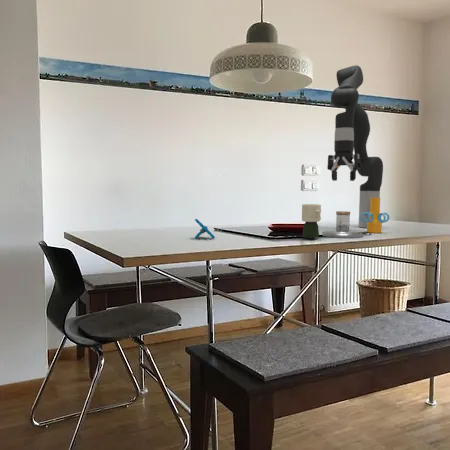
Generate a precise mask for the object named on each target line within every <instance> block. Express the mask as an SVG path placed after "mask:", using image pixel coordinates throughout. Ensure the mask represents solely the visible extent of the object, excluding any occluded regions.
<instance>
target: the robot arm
mask: <svg viewBox="0 0 450 450" xmlns="http://www.w3.org/2000/svg"><path fill="white" fill-rule="evenodd" d="M336 82H337V85H338V87H336V88H334V90H333V91H332V92H331V96H330V102H331V104H332V105H333V106H334V107H335V108H344V110H345V111H343V112H339V113H337V114H336V115H335V119H334V120H335V121H334V122H335V124H334V125H335V127H334V143H333V144H334V147H333V148H334V155H332V154H328V156H327V166H326V167H327V170H328V171H331V180H332V181H333V182H335V181H337V180H338V170H339V168H341V166H347V167H348V168H349V170H350V172H349V181H350V182H353V181H355V180H356V176H357V173H358V174H359V176H361V177H366V178H367V180H366V181H365V182H364V183H362V184H360V185H359V206H358V227H359V228H362V229H364V228H365V229H367V222H363V221H361V219H360V215H361V214H362V213H364V212H370V198H371V197H378V198H380V199H381V187H382V184H383V174H384V164H383V163H384V162H383V160H382V159H381V158H380V157H379V156H368V155H369V154H368V151H367V144H368V139H369V135H370V133H371V125H370V124H371V123H370V120H369V115H368V113H367V111H365V109H364V108H363V107H362V106H360V105H359V104H358V101H359V99H360V98H359V97H360V96H359V91H358V89H359V88H360V86H362V85H363V83H364V74H363V70H362V68H361V66H359V65H357V64H356V65H355V64H354V65H351V66H348V67H345V68H341V69H338V70H337V71H336ZM364 216H365V214H364V215H362V219H363V220H365V217H364ZM366 218H367V219H368V215H366Z"/></svg>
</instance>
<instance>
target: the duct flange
mask: <svg viewBox="0 0 450 450" xmlns="http://www.w3.org/2000/svg"><path fill="white" fill-rule="evenodd" d="M321 235H322V236H323V237H325V238H336V239H361V238H363V237H364V233H363V232H361V231H360V232H359V231H353V230H352V231H351V230H349V232H336V230H327V231H326V230H324V231H322V232H321Z"/></svg>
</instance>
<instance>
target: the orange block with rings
mask: <svg viewBox="0 0 450 450" xmlns="http://www.w3.org/2000/svg"><path fill="white" fill-rule="evenodd" d="M364 214H365V216H364V217H365V220H363V219H362V215H364ZM366 215H368V219H367V218H366ZM382 216H383V219H382ZM360 219H361V221H363V222H367V228H366V232H367V233H371V234H382V228H383V227H382V224H383V223H387V222H388V221H389V220H390V214H389V213H388V212H381V197H380V198H378V197H371V198H370V212H364V213H362V214H361V215H360Z"/></svg>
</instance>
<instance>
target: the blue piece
mask: <svg viewBox="0 0 450 450" xmlns="http://www.w3.org/2000/svg"><path fill="white" fill-rule="evenodd" d="M194 221H195V222H196V223H197V224H198V225H199V226H200V227H201V229H200V230H199V232H198V233H196V235H194V237H195V239H198V238H200V237H201V235H203V234H204V233H207V234H208V236H210V237H211V238H212V239H215V238H216V236H215V235H214V234H213V233H212V232H211V231H210V230H209V229H208V226H207V225H204V224H203V223H202V222H201V221H200V220H199V219H197V218H195V219H194Z"/></svg>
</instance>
